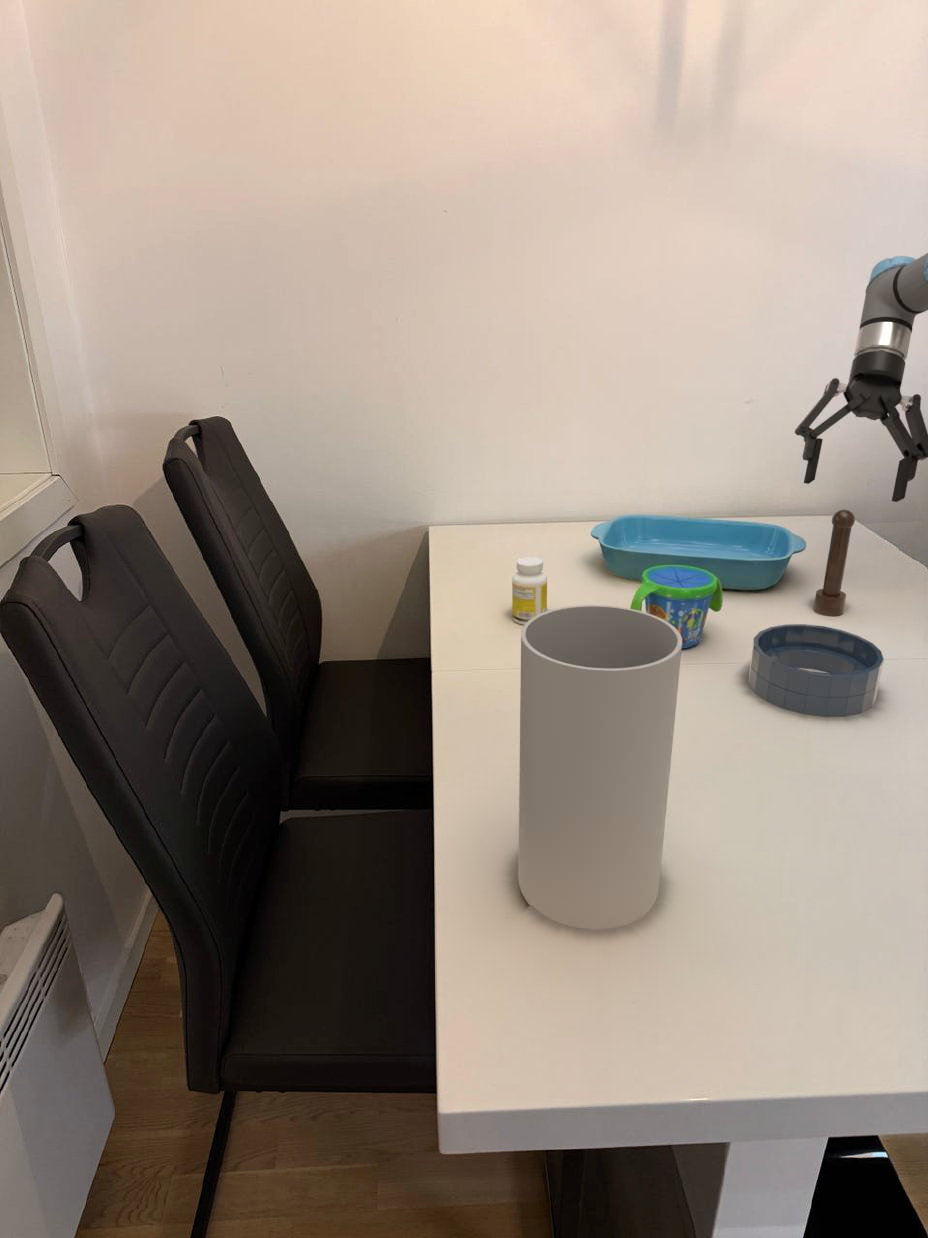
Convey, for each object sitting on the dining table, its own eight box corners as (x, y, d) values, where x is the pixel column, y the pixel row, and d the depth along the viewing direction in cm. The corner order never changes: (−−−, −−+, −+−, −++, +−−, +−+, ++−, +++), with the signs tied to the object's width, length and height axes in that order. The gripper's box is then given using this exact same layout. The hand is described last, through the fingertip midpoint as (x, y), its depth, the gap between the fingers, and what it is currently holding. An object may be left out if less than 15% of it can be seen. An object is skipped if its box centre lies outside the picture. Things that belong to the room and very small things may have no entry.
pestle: (846, 609, 134) (863, 508, 127) (839, 618, 131) (857, 515, 124) (817, 603, 136) (833, 504, 130) (810, 612, 133) (826, 511, 127)
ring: (885, 685, 110) (894, 640, 107) (858, 736, 99) (868, 687, 96) (768, 658, 118) (774, 615, 116) (731, 701, 107) (737, 655, 104)
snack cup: (697, 619, 131) (703, 557, 127) (740, 645, 122) (748, 580, 118) (609, 635, 126) (613, 571, 122) (646, 663, 117) (651, 595, 113)
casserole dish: (578, 581, 147) (580, 543, 145) (601, 543, 167) (603, 509, 164) (802, 604, 136) (808, 562, 133) (799, 561, 156) (804, 523, 153)
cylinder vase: (645, 843, 81) (666, 604, 71) (669, 939, 70) (697, 670, 60) (516, 841, 82) (519, 605, 72) (519, 936, 70) (523, 670, 61)
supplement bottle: (536, 610, 136) (537, 553, 132) (552, 622, 131) (554, 563, 127) (506, 616, 134) (506, 558, 130) (521, 628, 129) (522, 568, 125)
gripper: (948, 384, 133) (923, 512, 132) (791, 353, 135) (765, 479, 134) (974, 365, 126) (948, 501, 124) (807, 333, 128) (780, 467, 126)
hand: (853, 490), depth 129 cm, fingers open, 13 cm apart
